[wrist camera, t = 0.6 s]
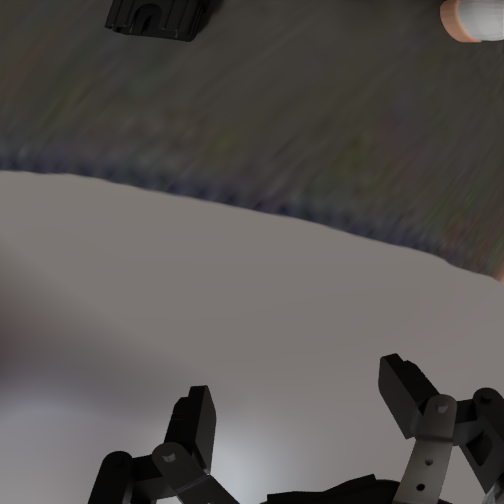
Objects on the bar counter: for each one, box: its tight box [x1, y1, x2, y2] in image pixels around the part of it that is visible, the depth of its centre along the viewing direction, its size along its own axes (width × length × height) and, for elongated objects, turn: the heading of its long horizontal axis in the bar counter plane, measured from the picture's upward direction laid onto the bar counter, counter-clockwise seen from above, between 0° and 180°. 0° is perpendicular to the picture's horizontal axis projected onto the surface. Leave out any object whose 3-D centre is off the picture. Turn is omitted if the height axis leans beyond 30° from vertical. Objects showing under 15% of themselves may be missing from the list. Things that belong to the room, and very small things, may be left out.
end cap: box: [105, 0, 210, 42], centre depth 22 cm, size 10×7×7 cm
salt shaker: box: [440, 0, 504, 42], centre depth 17 cm, size 7×7×19 cm
